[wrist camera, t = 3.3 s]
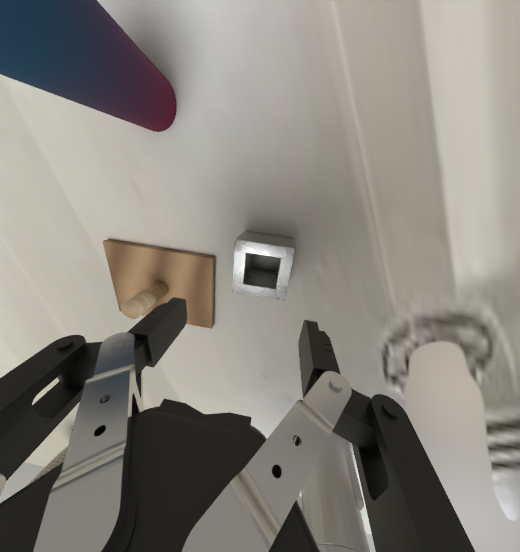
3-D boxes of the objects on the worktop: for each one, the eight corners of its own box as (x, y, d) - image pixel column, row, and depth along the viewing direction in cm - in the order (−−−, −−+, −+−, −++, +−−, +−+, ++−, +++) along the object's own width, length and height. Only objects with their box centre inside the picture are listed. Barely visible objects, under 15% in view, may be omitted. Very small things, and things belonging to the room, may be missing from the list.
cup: (188, 141, 20) (-11, 33, 7) (132, 141, 21) (-152, 42, 7) (179, 55, 17) (-198, -437, 4) (114, 58, 18) (-395, -347, 5)
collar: (293, 238, 23) (295, 248, 18) (284, 281, 26) (284, 300, 21) (245, 230, 23) (235, 239, 19) (241, 274, 26) (232, 291, 21)
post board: (215, 256, 25) (191, 276, 19) (214, 324, 30) (195, 358, 24) (108, 239, 26) (53, 253, 20) (124, 307, 31) (83, 336, 25)
